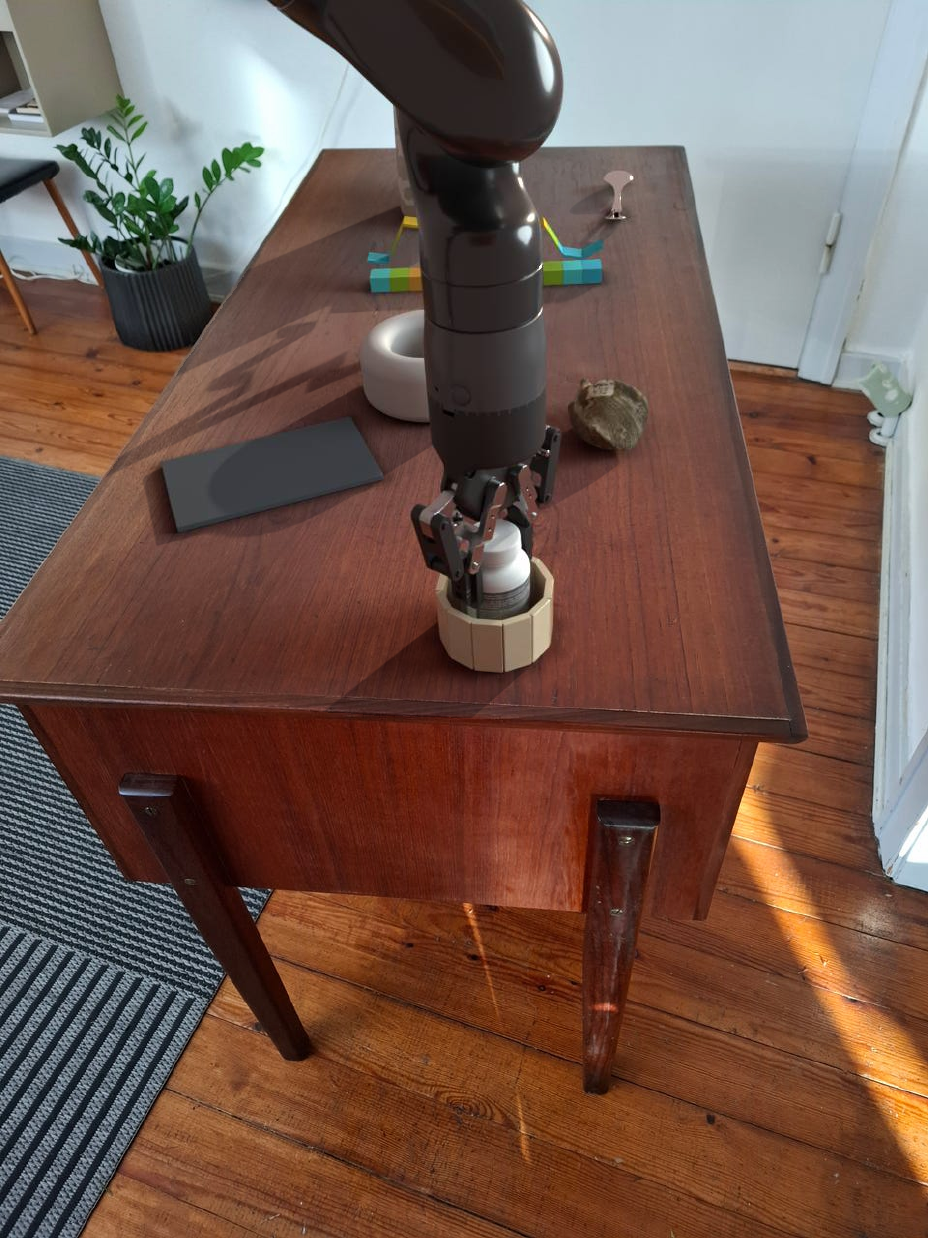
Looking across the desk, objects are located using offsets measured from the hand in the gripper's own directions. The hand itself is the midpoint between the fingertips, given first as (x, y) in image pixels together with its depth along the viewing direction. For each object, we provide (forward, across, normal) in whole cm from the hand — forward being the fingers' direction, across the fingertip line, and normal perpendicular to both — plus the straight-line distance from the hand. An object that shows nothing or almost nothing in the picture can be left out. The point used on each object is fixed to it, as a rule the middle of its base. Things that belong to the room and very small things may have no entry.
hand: (494, 579), depth 67 cm
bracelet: (+5, 0, 0) cm, 5 cm away
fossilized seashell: (+6, -29, -8) cm, 31 cm away
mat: (+5, -5, -32) cm, 33 cm away
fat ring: (+6, -26, -29) cm, 39 cm away
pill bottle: (+6, 0, 0) cm, 6 cm away
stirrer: (+6, -84, -42) cm, 94 cm away
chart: (+6, -52, -42) cm, 67 cm away
